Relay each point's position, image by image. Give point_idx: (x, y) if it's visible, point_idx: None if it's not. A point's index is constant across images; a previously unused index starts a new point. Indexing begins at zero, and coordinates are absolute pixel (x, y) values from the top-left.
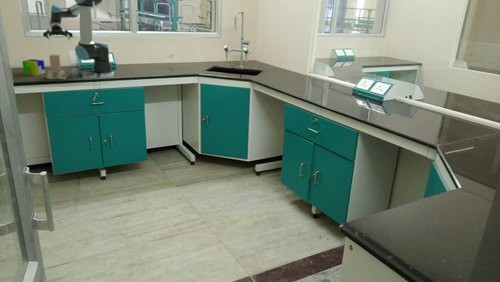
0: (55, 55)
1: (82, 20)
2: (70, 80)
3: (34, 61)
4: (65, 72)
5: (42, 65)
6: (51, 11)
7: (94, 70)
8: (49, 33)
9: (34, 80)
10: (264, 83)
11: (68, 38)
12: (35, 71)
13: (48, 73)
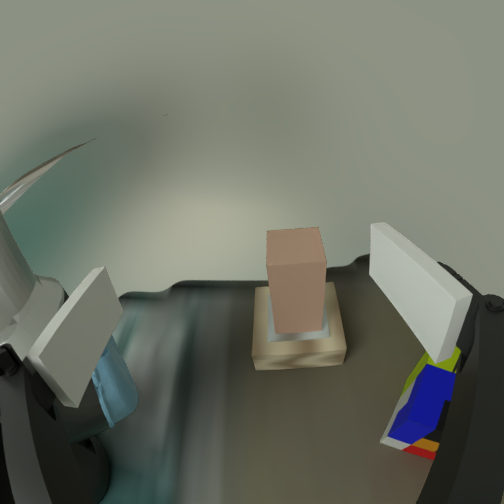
0: (286, 238)
1: None
2: (239, 290)
3: (443, 365)
4: (253, 324)
5: (401, 414)
6: None
7: (101, 450)
8: (475, 365)
9: (374, 288)
10: None
11: (110, 288)
12: (414, 369)
13: (327, 290)
